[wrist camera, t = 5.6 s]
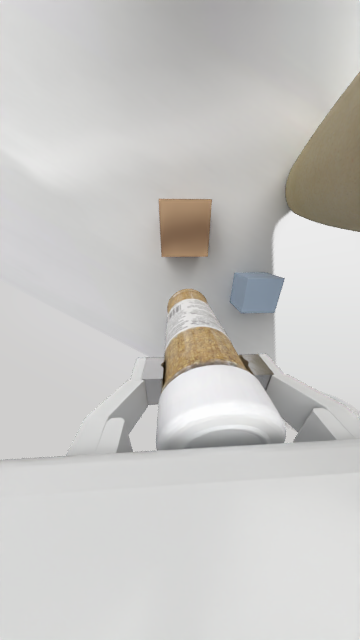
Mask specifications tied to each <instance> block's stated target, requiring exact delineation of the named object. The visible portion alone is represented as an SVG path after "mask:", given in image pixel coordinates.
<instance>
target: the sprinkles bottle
mask: <svg viewBox="0 0 360 640" xmlns="http://www.w3.org/2000/svg"><path fill="white" fill-rule="evenodd" d="M167 310H168V316H167V325H166V337H165V351H164V358H165V373H164V386H163V388H162V393H161V396H160V399H159V404H158V417H157V435H156V448H157V451H159V450H176V449H193V448H210V447H227V446H244V445H261V444H278V443H284V441H285V437H286V429H285V424H284V422H283V420H282V418H281V416H280V414H279V412H278V411H277V409H276V408H275V406H274V404H273V403H272V401H271V399H270V398H269V396H268V394H267V393H266V391H265V390H264V388H263V387H262V385H261V383H260V382H259V381H258V379H257V378H256V377H255V376H254V375H252V374H251V373H250V372H249V371H248V370H247V369H246V368H245V366H244V364H243V362H242V361H241V359H240V357H239V356H238V354H237V352H236V351H235V349H234V347H233V345H232V343H231V341H230V339H229V337H228V336H227V334H226V332H225V331H224V329H223V327H222V326H221V324H220V322H219V321H218V319H217V318H216V316H215V314H214V313H213V311H212V309H211V308H210V307H209V306H208V304H207V301H206V298H205V297H204V296H203V295H202V294H201V293H200V292H198V291H196V290H193V289H184V290H181V291H178V292H176V293H175V294H174V295H173V296H172V297H171V299H170V300H169V303H168V307H167Z"/></svg>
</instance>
